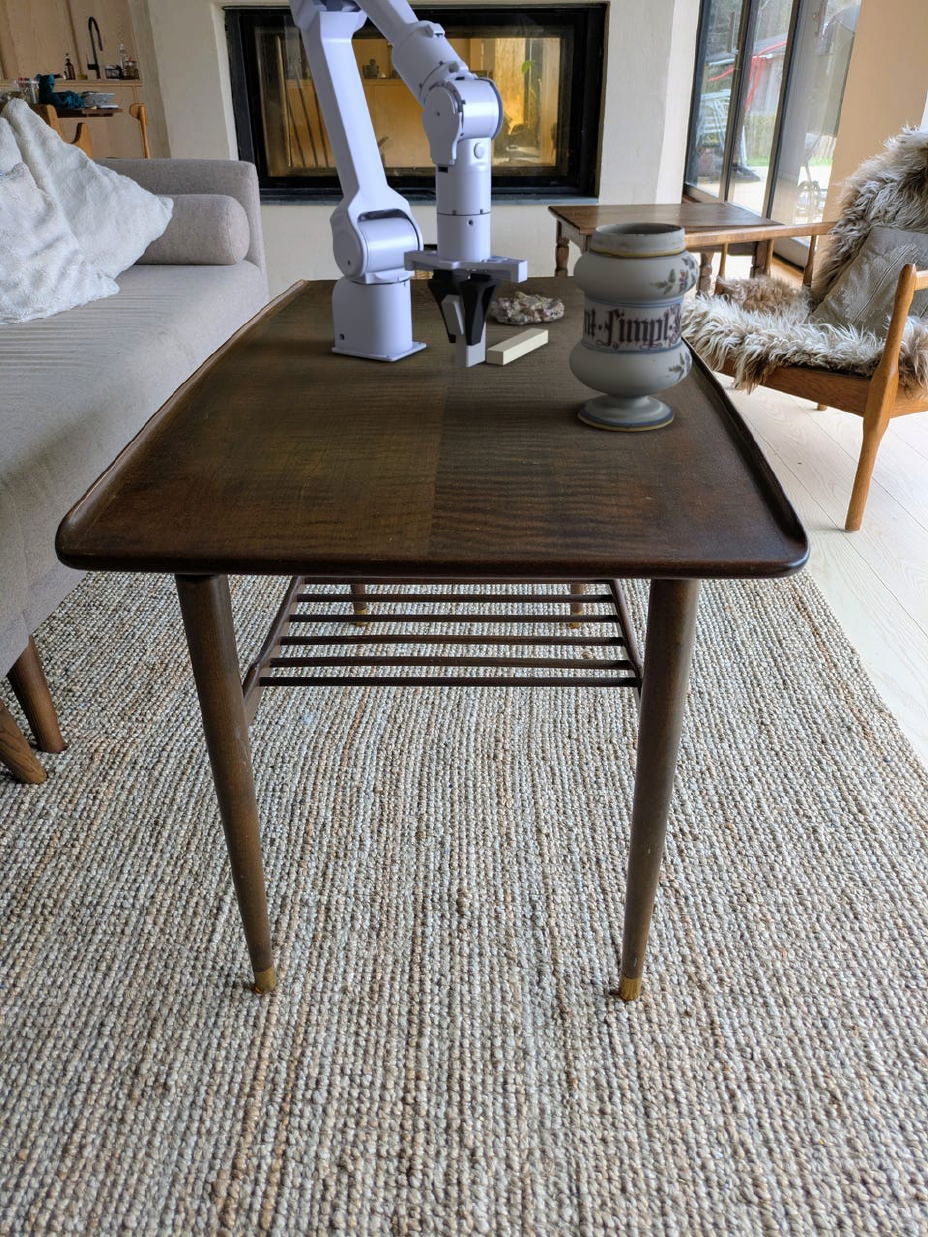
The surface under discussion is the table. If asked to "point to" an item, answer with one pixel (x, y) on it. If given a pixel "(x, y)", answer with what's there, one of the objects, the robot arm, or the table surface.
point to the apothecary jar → (632, 323)
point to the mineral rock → (526, 309)
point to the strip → (516, 346)
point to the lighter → (462, 333)
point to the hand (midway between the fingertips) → (464, 342)
